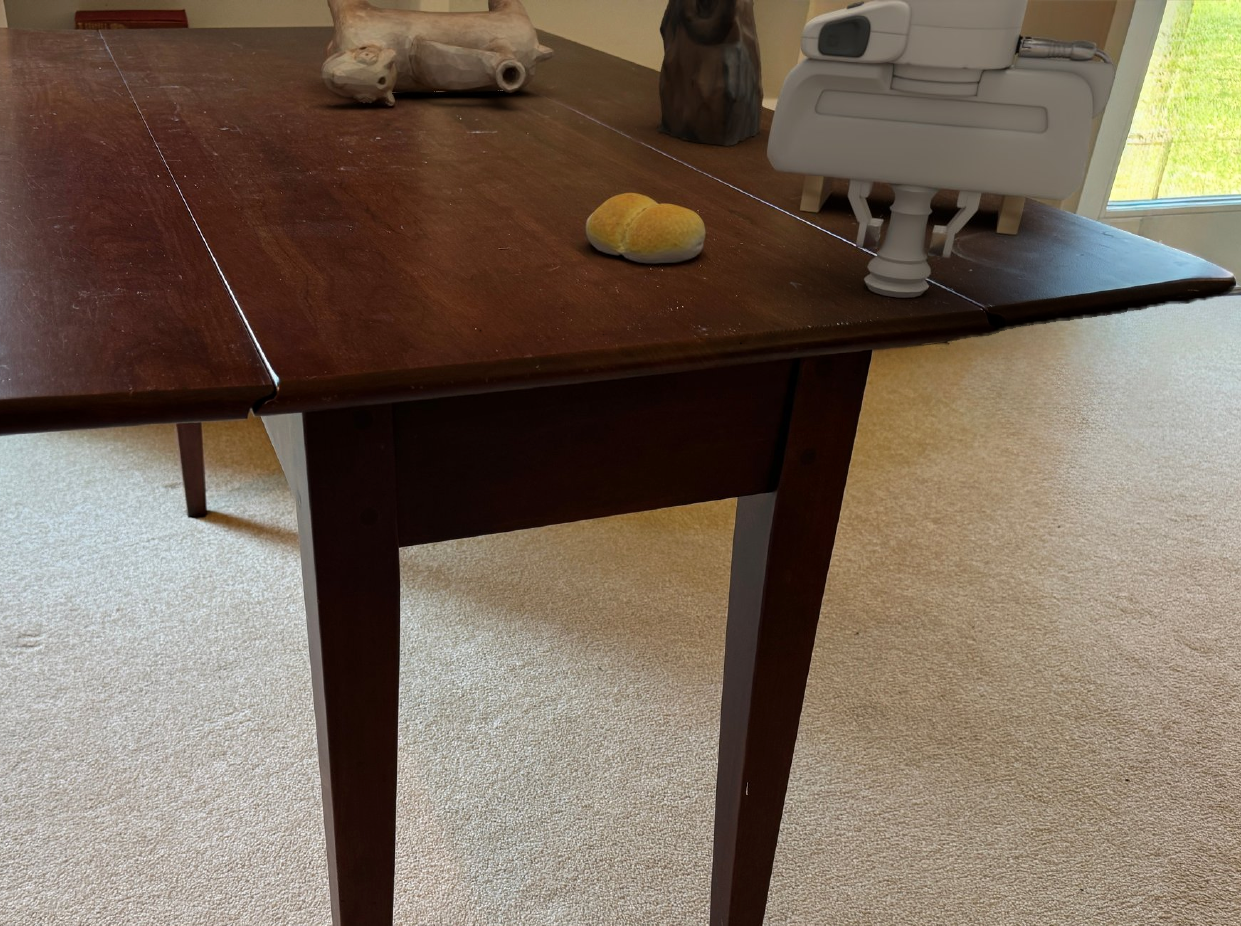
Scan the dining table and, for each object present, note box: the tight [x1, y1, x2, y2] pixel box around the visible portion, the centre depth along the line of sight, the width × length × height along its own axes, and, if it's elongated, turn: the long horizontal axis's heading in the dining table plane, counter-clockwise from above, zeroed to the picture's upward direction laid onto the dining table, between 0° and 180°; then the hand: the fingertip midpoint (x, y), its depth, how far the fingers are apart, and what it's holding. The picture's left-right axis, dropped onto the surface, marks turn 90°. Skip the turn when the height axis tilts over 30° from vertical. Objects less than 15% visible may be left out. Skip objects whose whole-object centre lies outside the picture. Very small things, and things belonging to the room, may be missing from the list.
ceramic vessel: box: [320, 0, 556, 104], centre depth 146 cm, size 13×31×25 cm
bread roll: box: [585, 192, 707, 264], centre depth 87 cm, size 8×9×4 cm
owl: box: [656, 0, 765, 147], centre depth 125 cm, size 13×13×20 cm
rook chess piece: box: [863, 183, 941, 299], centre depth 79 cm, size 4×4×8 cm
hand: (902, 251), depth 79 cm, fingers closed on rook chess piece, 3 cm apart
